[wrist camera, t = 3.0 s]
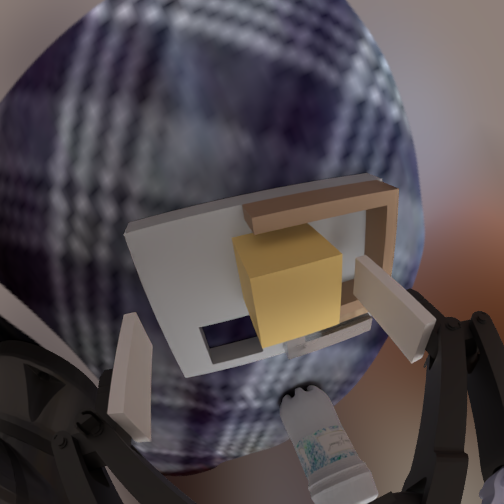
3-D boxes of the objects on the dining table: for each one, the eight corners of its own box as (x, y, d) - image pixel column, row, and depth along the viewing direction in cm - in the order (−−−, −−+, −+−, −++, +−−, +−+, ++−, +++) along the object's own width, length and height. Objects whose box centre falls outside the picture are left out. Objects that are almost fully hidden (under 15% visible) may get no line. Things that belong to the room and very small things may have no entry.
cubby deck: (184, 361, 24) (187, 400, 20) (128, 222, 18) (115, 251, 14) (359, 310, 27) (383, 338, 23) (366, 173, 20) (403, 187, 16)
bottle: (333, 381, 32) (406, 508, 15) (304, 411, 34) (360, 530, 16) (294, 377, 29) (368, 531, 12) (264, 409, 31) (317, 548, 14)
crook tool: (283, 347, 23) (288, 359, 22) (279, 316, 22) (286, 328, 20) (362, 320, 25) (370, 329, 23) (366, 288, 23) (375, 298, 22)
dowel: (320, 320, 23) (328, 331, 22) (319, 305, 22) (328, 315, 21) (369, 303, 24) (378, 312, 22) (370, 288, 23) (380, 296, 22)
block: (243, 300, 20) (262, 348, 16) (231, 237, 18) (249, 278, 13) (308, 282, 21) (339, 323, 17) (305, 220, 19) (342, 253, 14)
